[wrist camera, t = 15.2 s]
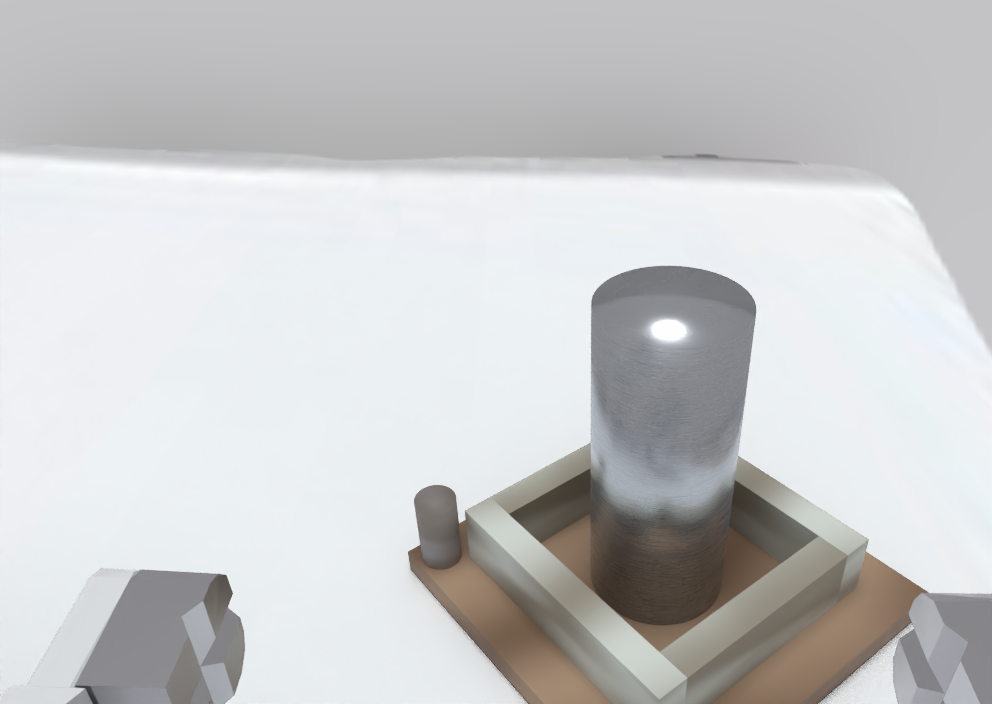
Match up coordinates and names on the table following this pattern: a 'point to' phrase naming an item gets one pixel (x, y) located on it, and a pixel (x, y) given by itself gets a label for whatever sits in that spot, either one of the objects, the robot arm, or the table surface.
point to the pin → (665, 437)
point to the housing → (659, 648)
